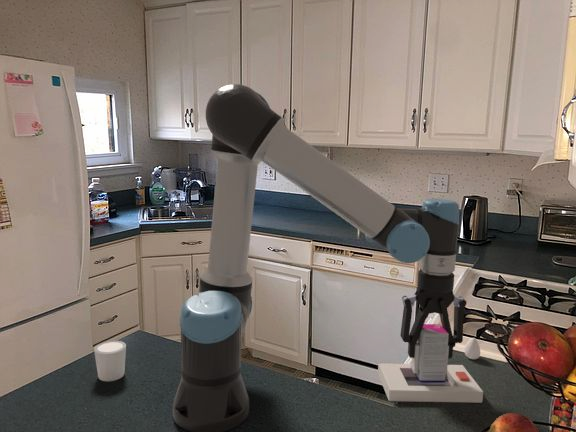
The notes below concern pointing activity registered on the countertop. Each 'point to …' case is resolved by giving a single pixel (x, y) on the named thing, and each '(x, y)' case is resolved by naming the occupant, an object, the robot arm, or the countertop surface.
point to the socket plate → (428, 385)
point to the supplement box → (432, 354)
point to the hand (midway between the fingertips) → (428, 370)
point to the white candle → (110, 360)
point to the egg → (472, 349)
